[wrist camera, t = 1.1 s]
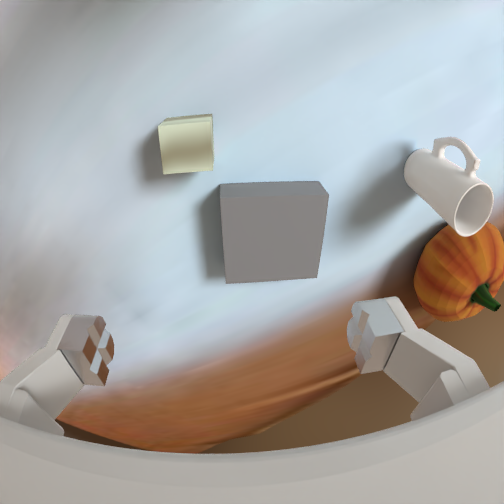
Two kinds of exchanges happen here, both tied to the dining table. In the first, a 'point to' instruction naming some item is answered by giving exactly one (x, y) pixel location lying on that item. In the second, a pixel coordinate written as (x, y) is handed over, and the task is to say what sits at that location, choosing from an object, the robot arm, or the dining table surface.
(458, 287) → the pumpkin
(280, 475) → the robot arm
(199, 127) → the cube
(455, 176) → the mug
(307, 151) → the dining table surface
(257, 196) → the riser block
